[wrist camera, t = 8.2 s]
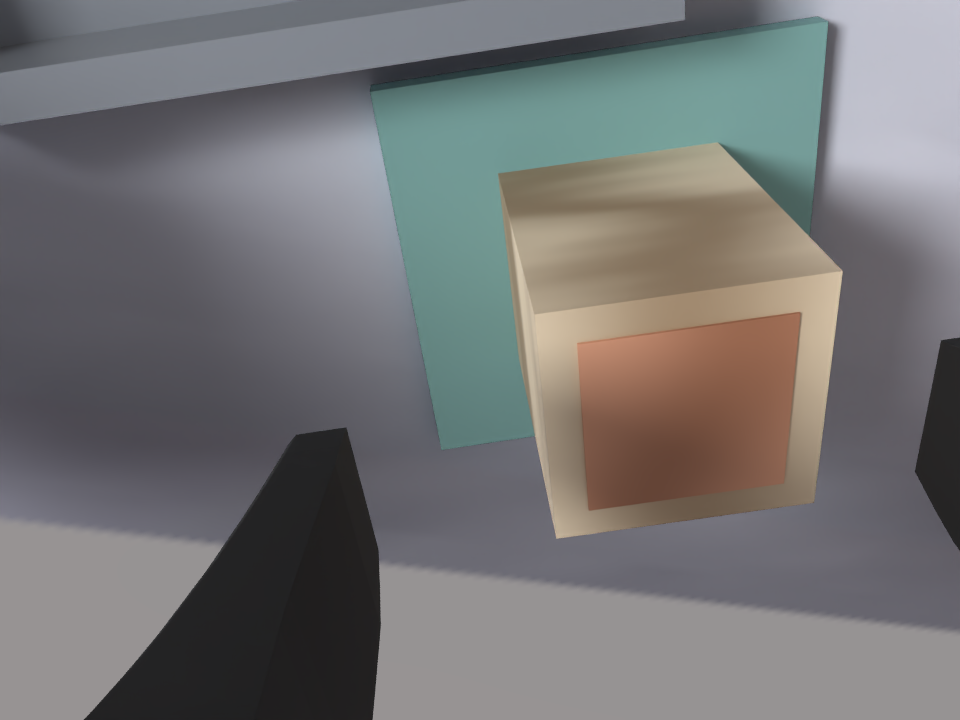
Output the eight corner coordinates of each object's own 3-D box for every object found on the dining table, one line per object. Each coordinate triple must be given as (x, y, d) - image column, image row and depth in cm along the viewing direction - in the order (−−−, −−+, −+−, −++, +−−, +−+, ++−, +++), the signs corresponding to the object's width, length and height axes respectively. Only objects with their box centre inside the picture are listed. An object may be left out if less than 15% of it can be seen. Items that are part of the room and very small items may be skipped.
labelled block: (518, 358, 20) (557, 541, 15) (497, 173, 18) (534, 316, 13) (711, 331, 20) (814, 504, 15) (717, 142, 18) (844, 272, 12)
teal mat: (440, 437, 22) (441, 449, 21) (370, 84, 17) (370, 91, 17) (788, 386, 22) (795, 397, 21) (817, 16, 17) (828, 21, 16)
